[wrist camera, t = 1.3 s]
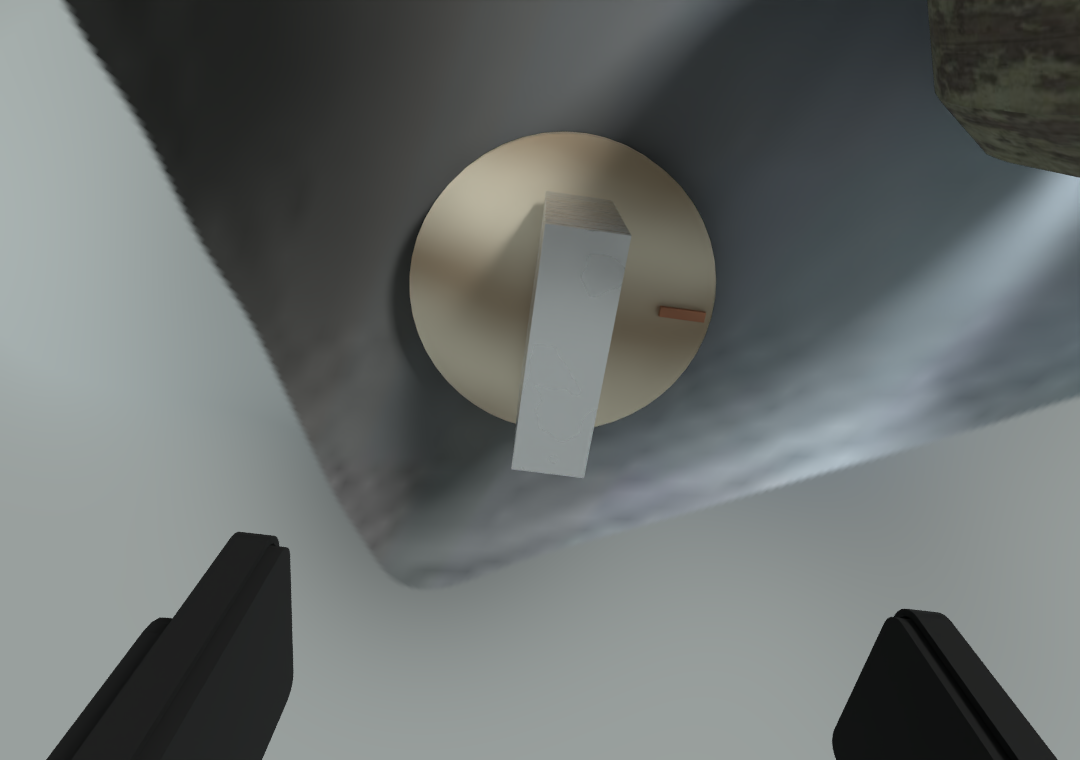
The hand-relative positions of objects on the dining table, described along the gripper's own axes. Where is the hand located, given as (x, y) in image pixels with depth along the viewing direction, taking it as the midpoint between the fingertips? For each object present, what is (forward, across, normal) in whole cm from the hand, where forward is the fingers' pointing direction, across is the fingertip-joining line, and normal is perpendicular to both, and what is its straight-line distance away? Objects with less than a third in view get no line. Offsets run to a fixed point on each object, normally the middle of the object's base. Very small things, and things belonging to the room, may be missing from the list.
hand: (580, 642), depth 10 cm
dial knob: (+16, 0, 0) cm, 16 cm away
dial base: (+18, 0, -1) cm, 18 cm away
